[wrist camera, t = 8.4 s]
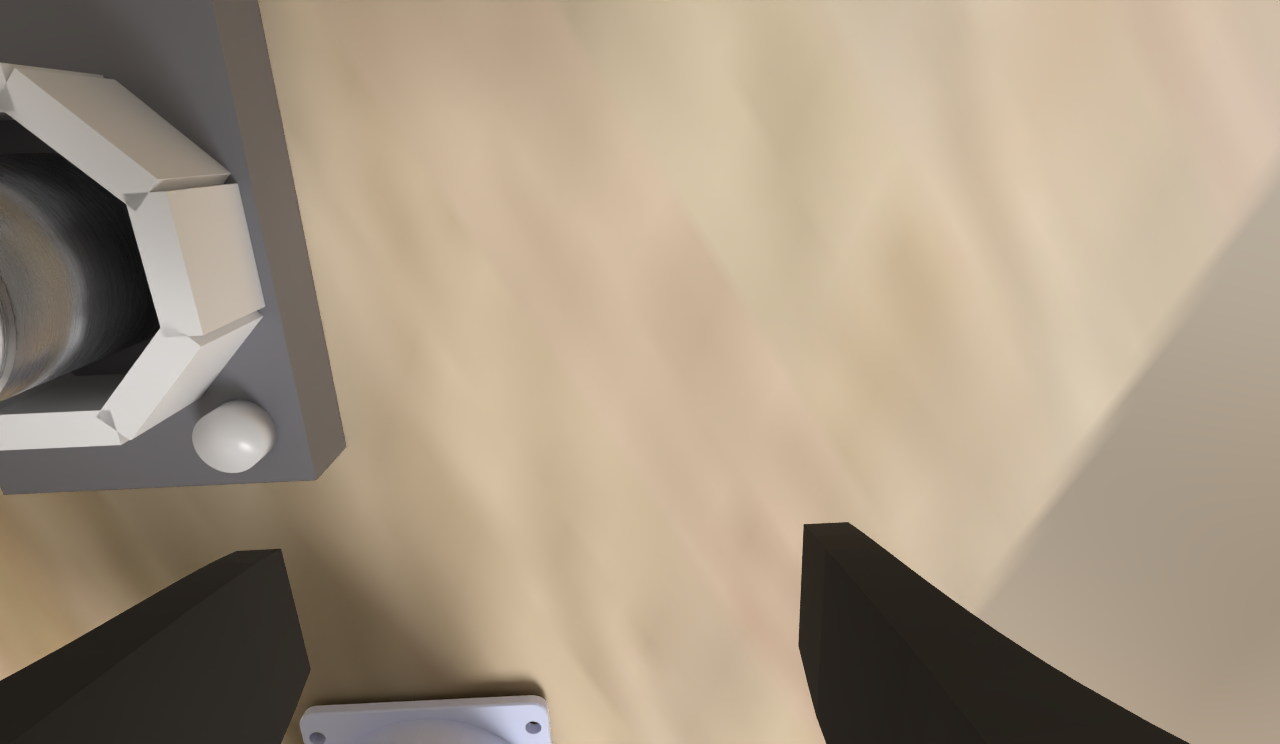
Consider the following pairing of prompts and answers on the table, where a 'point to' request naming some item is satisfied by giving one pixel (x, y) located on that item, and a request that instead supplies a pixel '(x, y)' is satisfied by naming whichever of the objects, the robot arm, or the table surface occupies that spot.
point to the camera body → (173, 251)
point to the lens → (64, 273)
